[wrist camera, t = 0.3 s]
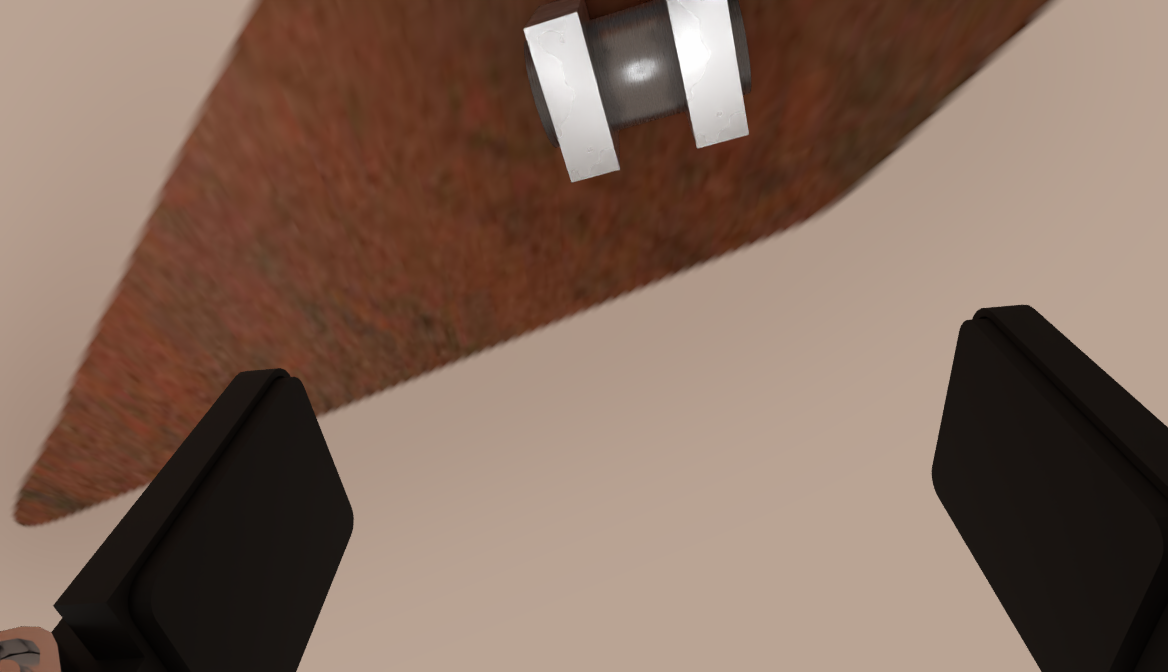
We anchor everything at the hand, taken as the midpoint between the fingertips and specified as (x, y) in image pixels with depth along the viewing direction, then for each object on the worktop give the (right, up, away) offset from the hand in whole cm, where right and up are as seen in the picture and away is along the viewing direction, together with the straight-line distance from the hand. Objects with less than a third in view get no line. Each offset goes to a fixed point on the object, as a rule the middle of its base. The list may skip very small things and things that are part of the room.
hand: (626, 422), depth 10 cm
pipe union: (+2, +15, +23) cm, 28 cm away
